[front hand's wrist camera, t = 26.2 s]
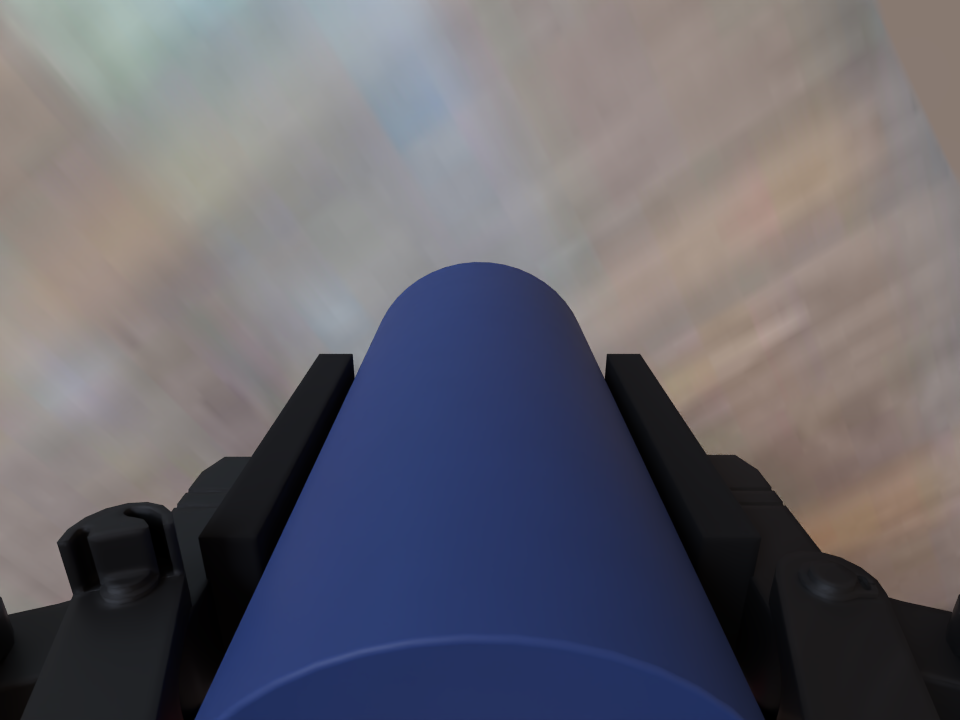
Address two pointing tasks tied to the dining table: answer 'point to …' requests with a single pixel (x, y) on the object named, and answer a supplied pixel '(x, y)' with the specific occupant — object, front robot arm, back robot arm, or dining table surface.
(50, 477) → the dining table surface
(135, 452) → the dining table surface
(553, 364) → the canister
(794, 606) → the front robot arm
